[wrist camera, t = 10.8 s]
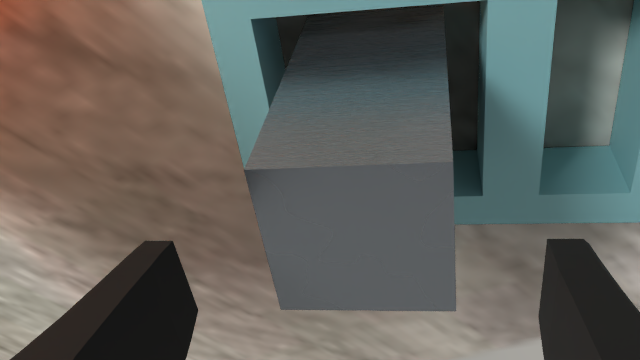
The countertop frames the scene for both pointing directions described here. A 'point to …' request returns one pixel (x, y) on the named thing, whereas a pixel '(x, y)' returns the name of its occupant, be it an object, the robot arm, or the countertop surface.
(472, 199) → the holder
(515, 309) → the countertop surface
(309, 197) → the peg
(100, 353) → the robot arm
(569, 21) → the countertop surface
